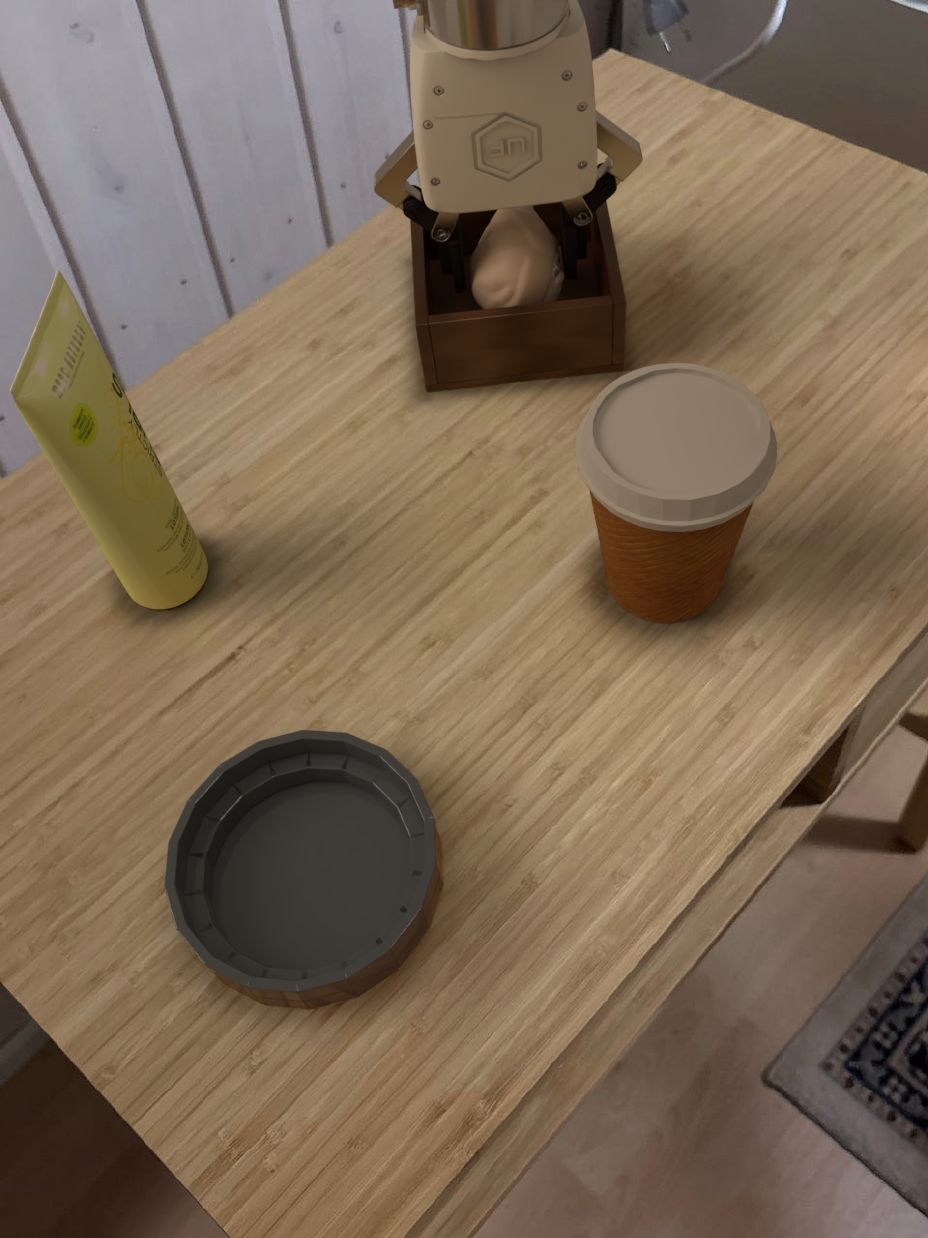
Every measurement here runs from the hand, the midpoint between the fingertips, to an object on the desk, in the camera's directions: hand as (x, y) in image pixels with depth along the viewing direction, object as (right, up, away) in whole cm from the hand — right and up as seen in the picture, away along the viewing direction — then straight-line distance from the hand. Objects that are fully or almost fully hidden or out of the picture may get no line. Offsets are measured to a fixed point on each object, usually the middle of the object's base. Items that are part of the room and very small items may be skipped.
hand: (514, 270), depth 73 cm
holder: (0, -2, +3) cm, 4 cm away
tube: (-20, -20, -6) cm, 29 cm away
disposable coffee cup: (+8, -20, -9) cm, 23 cm away
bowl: (-10, -35, -17) cm, 40 cm away
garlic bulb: (0, -2, +3) cm, 3 cm away
